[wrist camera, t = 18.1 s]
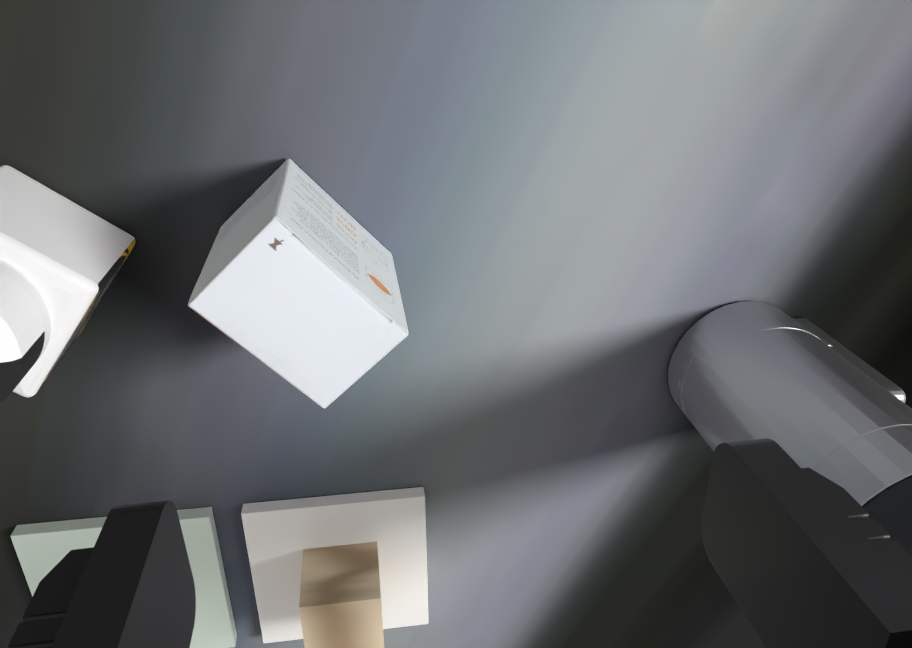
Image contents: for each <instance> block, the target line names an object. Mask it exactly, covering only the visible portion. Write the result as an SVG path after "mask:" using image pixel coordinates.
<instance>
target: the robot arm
mask: <svg viewBox="0 0 912 648" xmlns="http://www.w3.org/2000/svg"><path fill="white" fill-rule="evenodd" d="M668 384H669V389H670V393H671V395H672V397H673V399H674V401H675V403H676V404H677V405H678V407H679V408H680V409H681V410H682V412H683V413H684V414H685V415H686V417H687V418H688V419H689V420H690V422H691V423H692V424H693V426H694V427H695V428H696V429H697V431H698V432H699V433H700V435H701V436H702V437H703V439H704V440H705V441H706V442H707V444H708V445H709V446H710V448H711V449H712V450H713V451H714V453H713V457H712V463H711V469H710V474H709V480H708V486H707V491H706V497H705V503H704V508H703V514H702V520H701V533H702V539H703V544H704V547H705V551H706V553H707V556H708V558H709V560H710V562H711V564H712V565H713V567H714V568H715V570H716V571H717V573H718V575H719V576H720V578H721V579H722V581H723V582H724V584H725V585H726V587H727V589H728V590H729V592H730V593H731V595H732V596H733V598H734V599H735V601H736V603H737V604H738V606H739V607H740V609H741V610H742V612H743V613H744V615H745V616H746V618H747V620H748V621H749V623H750V624H751V626H752V627H753V629H754V630H755V632H756V634H757V635H758V637H759V638H760V640H761V641H762V643H763V644H764V646H765V648H912V409H911V408H910V407H909V406H907V405H906V404H905V401H906V396H905V393H904V391H903V390H902V389H901V388H900V387H898V386H897V385H895V384H894V383H893V382H891V381H890V380H889V379H887V378H886V377H884V376H883V375H882V374H880V373H879V372H878V371H876V370H875V369H874V368H872V367H871V366H869V365H868V364H867V363H865V362H864V361H863V360H861V359H860V358H859V357H857V356H856V355H854V354H853V353H852V352H850V351H849V350H848V349H846V348H845V347H844V346H842V345H841V344H839V343H838V342H837V341H835V340H834V339H833V338H831V337H830V336H829V335H827V334H826V333H824V332H823V331H822V330H820V329H819V328H818V327H816V326H815V325H814V324H812V323H811V322H809V321H808V320H807V319H805V318H791V317H789V316H788V315H787V314H785V313H784V312H783V311H781V310H780V309H779V308H777V307H775V306H772V305H770V304H768V303H762V302H756V301H746V302H737V303H733V304H729V305H725V306H723V307H721V308H718V309H716V310H714V311H712V312H710V313H709V314H707V315H706V316H704V317H703V318H701V319H700V320H698V321H697V322H696V323H695V324H694V325H693V326H692V327H691V328H690V329H689V330H688V331H687V332H686V333H685V334H684V336H683V337H682V338H681V340H680V341H679V343H678V344H677V346H676V348H675V350H674V352H673V354H672V357H671V361H670V364H669V368H668ZM195 613H196V594H195V585H194V579H193V575H192V571H191V567H190V563H189V558H188V554H187V550H186V546H185V542H184V538H183V533H182V529H181V525H180V521H179V517H178V513H177V509H176V507H175V505H174V503H173V502H172V501H162V502H153V503H143V504H134V505H125V506H116V507H113V508H112V509H111V510H110V512H109V514H108V516H107V518H106V520H105V523H104V525H103V527H102V530H101V532H100V534H99V537H98V539H97V541H96V544H95V546H94V547H92V548H83V549H75V550H71V551H70V552H69V553H68V554H67V555H66V556H65V557H64V558H63V559H62V560H61V561H60V562H59V563H58V564H57V565H56V566H55V567H54V568H53V569H52V570H51V571H50V572H49V573H48V574H47V575H46V576H45V577H44V578H43V579H42V580H41V581H40V583H39V585H38V587H37V589H36V591H35V593H34V595H33V597H32V599H31V601H30V603H29V605H28V607H27V609H26V611H25V613H24V615H23V623H19V625H18V627H17V629H16V631H15V633H14V635H13V637H12V639H11V641H10V643H9V645H8V647H9V648H189V647H190V643H191V638H192V634H193V629H194V623H195Z"/></svg>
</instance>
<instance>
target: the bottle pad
mask: <svg viewBox="0 0 912 648" xmlns="http://www.w3.org/2000/svg"><path fill="white" fill-rule="evenodd" d="M177 513H178V517H179V521H180V525H181V529H182V533H183V538H184V542H185V546H186V550H187V554H188V558H189V563H190V567H191V571H192V575H193V579H194V585H195V594H196V613H195V623H194V629H193V634H192V638H191V643H190V647H189V648H229V647H235V644H236V638H237V633H236V628H235V623H234V617H233V612H232V607H231V602H230V597H229V592H228V587H227V582H226V577H225V572H224V567H223V561H222V556H221V551H220V546H219V541H218V536H217V531H216V526H215V521H214V516H213V510H212V507H204V508H193V509H182V510H177ZM106 518H107V517H97V518H87V519H76V520H66V521H55V522H44V523H34V524H23V525H17V526H16V527H15V529H14V531H13V532H12V534H11V536H10V537H11V539H12V542H13V545H14V548H15V550H16V553H17V556H18V559H19V561H20V564H21V567H22V570H23V572H24V575H25V578H26V581H27V583H28V586H29V589H30V592H31V594H32V597H33V595H34V593H35V591H36V589H37V587H38V585H39V583H40V581H41V580H42V579H43V578H44V577H45V576H46V575H47V574H48V573H49V572H50V571H51V570H52V569H53V568H54V567H55V566H56V565H57V564H58V563H59V562H60V561H61V560H62V559H63V558H64V557H65V556H66V555H67V554H68V553H69V552H70V551H71V550H75V549H83V548H92V547H94V546H95V544H96V541H97V539H98V537H99V534H100V532H101V530H102V527H103V525H104V523H105V520H106Z"/></svg>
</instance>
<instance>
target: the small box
mask: <svg viewBox="0 0 912 648" xmlns="http://www.w3.org/2000/svg"><path fill="white" fill-rule="evenodd" d="M188 307H190V308H191V309H193V310H194V311H195V312H197V313H198V314H199V315H200V316H202V317H203V318H204V319H206V320H207V321H208V322H209V323H211V324H212V325H213V326H215V327H216V328H217V329H219V330H220V331H221V332H223V333H224V334H225V335H227V336H228V337H229V338H231V339H232V340H233V341H235V342H236V343H237V344H239V345H240V346H241V347H243V348H244V349H245V350H247V351H248V352H249V353H251V354H252V355H253V356H254V357H256V358H257V359H258V360H260V361H261V362H262V363H264V364H265V365H266V366H267V367H269V368H270V369H272V370H273V371H274V372H276V373H277V374H278V375H279V376H281V377H282V378H283V379H285V380H286V381H287V382H289V383H290V384H291V385H293V386H294V387H295V388H297V389H298V390H299V391H300V392H302V393H303V394H304V395H306V396H307V397H308V398H310V399H311V400H312V401H314V402H315V403H316V404H317V405H319V406H320V407H321V408H322V409H325V408H327V407H328V406H329V405H330V404H331V403H332V402H333V401H334V400H336V399H337V398H338V397H339V396H340V395H341V394H342V393H343V392H345V391H346V390H347V389H348V388H349V387H350V386H351V385H353V384H354V383H355V382H356V381H357V380H358V379H359V378H360V377H362V376H363V375H364V374H365V373H366V372H367V371H368V370H369V369H371V368H372V367H373V366H374V365H375V364H376V363H377V362H379V361H380V360H381V359H382V358H383V357H384V356H385V355H386V354H388V353H389V352H390V351H391V350H392V349H393V348H394V347H395V346H397V345H398V344H399V343H400V342H401V341H402V340H403V339H404V338H406V337H407V336H408V328H407V323H406V318H405V314H404V309H403V304H402V299H401V295H400V290H399V285H398V281H397V276H396V271H395V267H394V262H393V257H392V254H391V253H390V252H389V251H388V250H387V249H386V248H385V247H384V246H383V245H381V244H380V243H379V242H378V241H377V240H376V239H375V238H374V237H373V236H372V235H371V234H370V233H369V232H367V231H366V230H365V229H364V228H363V227H362V226H361V225H360V224H359V223H358V222H357V221H356V220H355V219H354V218H353V217H351V216H350V215H349V214H348V213H347V212H346V211H345V210H344V209H343V208H342V207H341V206H340V205H339V204H338V203H336V202H335V201H334V200H333V199H332V198H331V197H330V196H329V195H328V194H327V193H326V192H325V191H324V190H323V189H321V188H320V187H319V186H318V185H317V184H316V183H315V182H314V181H313V180H312V179H311V178H310V177H309V176H308V175H306V174H305V173H304V172H303V171H302V170H301V169H300V168H299V167H298V166H297V165H296V164H295V163H294V162H293V161H292V160H291V159H287V160H286V161H285V162H284V163H283V164H282V165H281V166H280V167H279V168H278V169H277V170H276V171H275V172H274V173H273V174H272V175H271V176H270V177H269V178H268V179H267V180H266V181H265V182H264V183H263V184H262V185H261V186H260V187H259V188H258V189H257V190H256V191H255V192H254V193H253V194H252V195H251V196H250V197H249V198H248V199H247V201H246V202H245V203H244V204H243V205H242V206H241V207H240V208H239V209H238V210H237V211H236V212H235V213H234V214H233V215H232V216H231V217H230V218H229V219H228V220H227V221H226V222H225V223H224V224H223V225H222V226H221V227H220V230H219V232H218V235H217V237H216V239H215V241H214V243H213V246H212V248H211V250H210V253H209V255H208V257H207V260H206V262H205V264H204V267H203V269H202V271H201V274H200V276H199V278H198V280H197V283H196V285H195V287H194V290H193V292H192V294H191V297H190V299H189V302H188Z"/></svg>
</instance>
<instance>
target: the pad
mask: <svg viewBox="0 0 912 648" xmlns="http://www.w3.org/2000/svg"><path fill="white" fill-rule="evenodd" d="M241 516H242V522H243V528H244V534H245V539H246V545H247V551H248V557H249V562H250V568H251V574H252V580H253V585H254V591H255V597H256V603H257V608H258V614H259V620H260V626H261V631H262V637H263V643H271V642H279V641H288V640H296V639H303V632H302V625H301V618H300V611H299V600H300V586H301V572H302V557H303V549H311V548H320V547H330V546H339V545H349V544H358V543H368V542H377V547H378V561H379V575H380V589H381V604H382V620H383V629H388V628H397V627H405V626H414V625H422V624H429V623H428V586H427V549H426V512H425V493H424V487H416V488H405V489H395V490H384V491H373V492H363V493H352V494H342V495H331V496H320V497H310V498H299V499H289V500H278V501H267V502H257V503H246V504H243V507H242V512H241Z"/></svg>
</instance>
